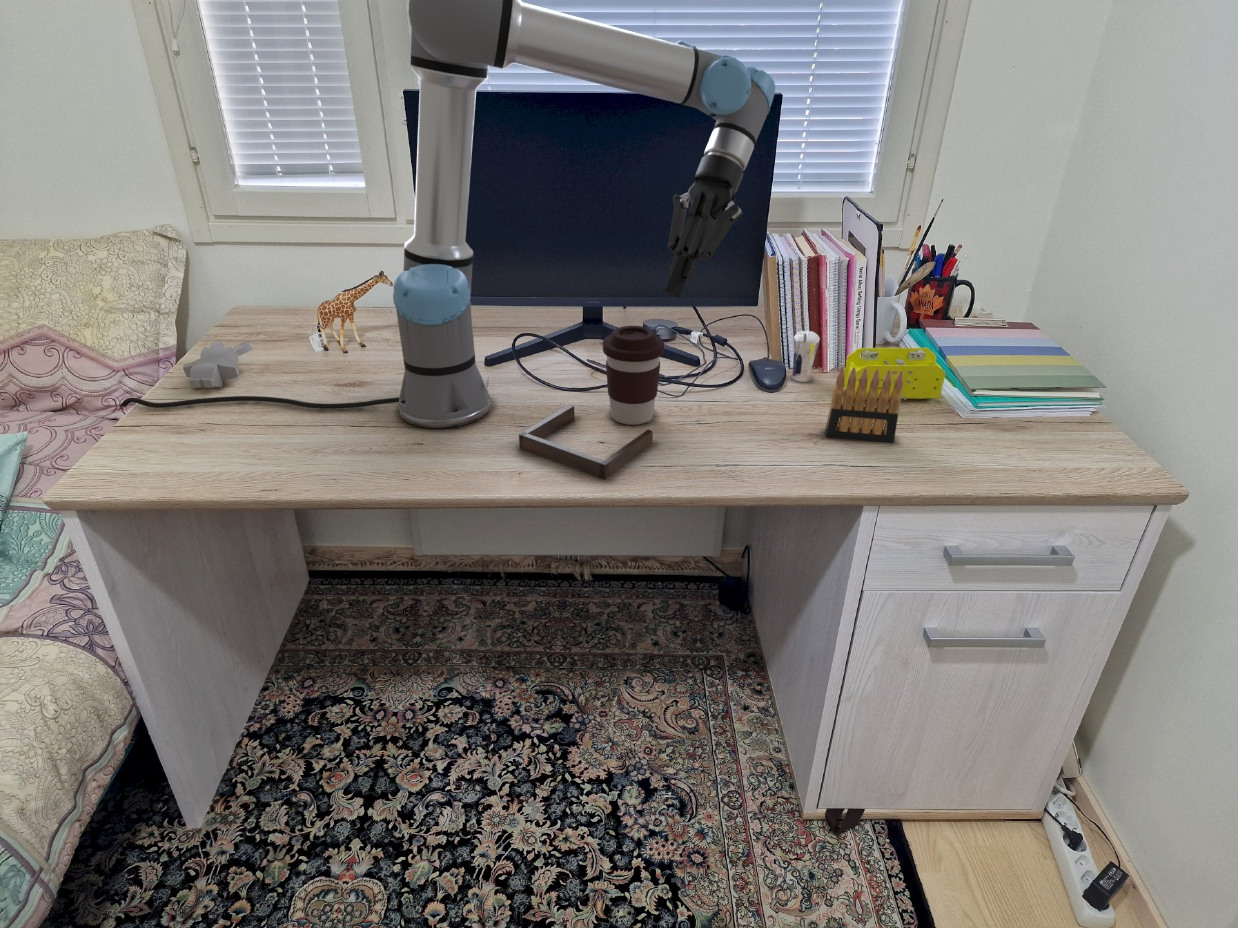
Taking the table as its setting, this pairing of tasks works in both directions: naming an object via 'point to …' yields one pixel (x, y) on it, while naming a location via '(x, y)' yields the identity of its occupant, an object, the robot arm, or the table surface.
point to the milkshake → (804, 355)
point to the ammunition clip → (864, 408)
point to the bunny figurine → (215, 365)
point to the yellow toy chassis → (917, 371)
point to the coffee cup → (632, 373)
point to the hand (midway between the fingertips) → (672, 294)
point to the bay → (583, 462)
